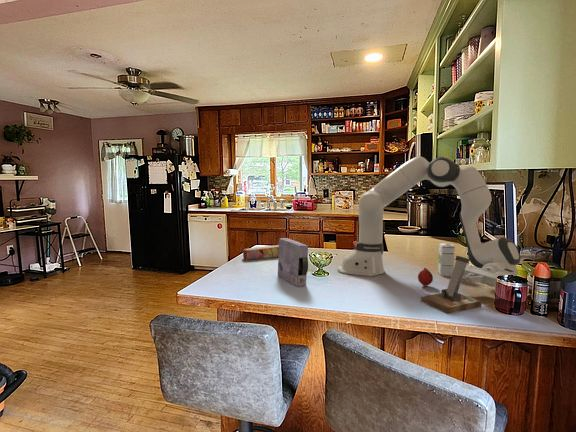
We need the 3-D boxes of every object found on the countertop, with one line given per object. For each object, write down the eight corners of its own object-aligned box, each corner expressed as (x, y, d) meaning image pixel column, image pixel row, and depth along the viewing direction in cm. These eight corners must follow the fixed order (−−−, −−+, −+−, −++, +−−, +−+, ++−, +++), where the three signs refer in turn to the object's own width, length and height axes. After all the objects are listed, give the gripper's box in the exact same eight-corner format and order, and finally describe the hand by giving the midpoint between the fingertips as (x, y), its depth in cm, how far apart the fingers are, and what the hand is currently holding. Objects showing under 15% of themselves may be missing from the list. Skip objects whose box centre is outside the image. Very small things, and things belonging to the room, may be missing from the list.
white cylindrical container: (453, 276, 156) (455, 245, 154) (440, 275, 157) (441, 245, 155) (450, 273, 161) (452, 243, 160) (437, 272, 162) (439, 242, 161)
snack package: (246, 261, 182) (246, 249, 182) (242, 258, 188) (242, 247, 188) (281, 257, 191) (282, 246, 190) (277, 255, 197) (277, 244, 196)
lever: (448, 296, 123) (460, 257, 123) (456, 300, 120) (469, 259, 120) (443, 295, 122) (456, 255, 122) (452, 298, 119) (465, 257, 119)
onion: (420, 283, 145) (421, 265, 145) (434, 285, 142) (435, 267, 141) (415, 286, 141) (416, 267, 140) (429, 289, 137) (430, 270, 136)
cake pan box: (308, 286, 141) (309, 244, 139) (298, 288, 138) (299, 245, 136) (286, 274, 157) (286, 237, 155) (277, 276, 155) (277, 238, 153)
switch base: (452, 295, 130) (453, 284, 129) (481, 306, 119) (482, 294, 118) (420, 301, 123) (421, 289, 123) (448, 313, 113) (448, 300, 112)
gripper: (470, 260, 138) (445, 263, 133) (521, 273, 120) (495, 277, 114) (469, 275, 139) (444, 279, 133) (519, 290, 120) (493, 295, 115)
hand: (468, 278), depth 124 cm, fingers closed
